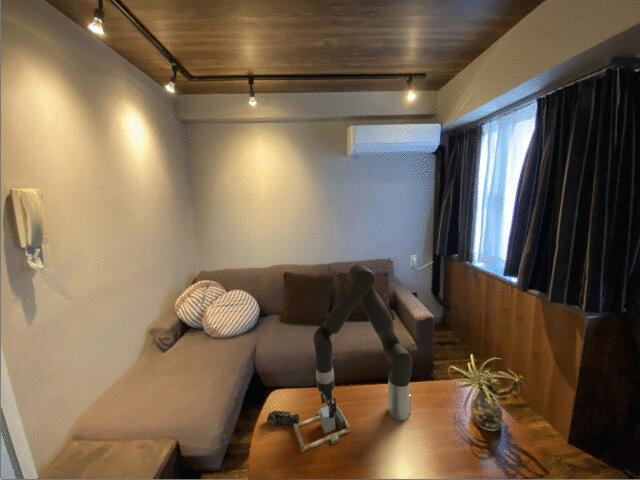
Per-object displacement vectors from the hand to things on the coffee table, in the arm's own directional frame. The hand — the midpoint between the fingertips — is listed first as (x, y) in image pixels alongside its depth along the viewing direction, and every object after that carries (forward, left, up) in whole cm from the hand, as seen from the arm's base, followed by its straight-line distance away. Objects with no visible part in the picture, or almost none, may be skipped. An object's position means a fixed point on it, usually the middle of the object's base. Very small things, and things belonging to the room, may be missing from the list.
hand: (327, 409), depth 111 cm
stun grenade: (+19, -9, -9) cm, 23 cm away
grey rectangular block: (0, 0, -9) cm, 9 cm away
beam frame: (+3, 0, -9) cm, 9 cm away
